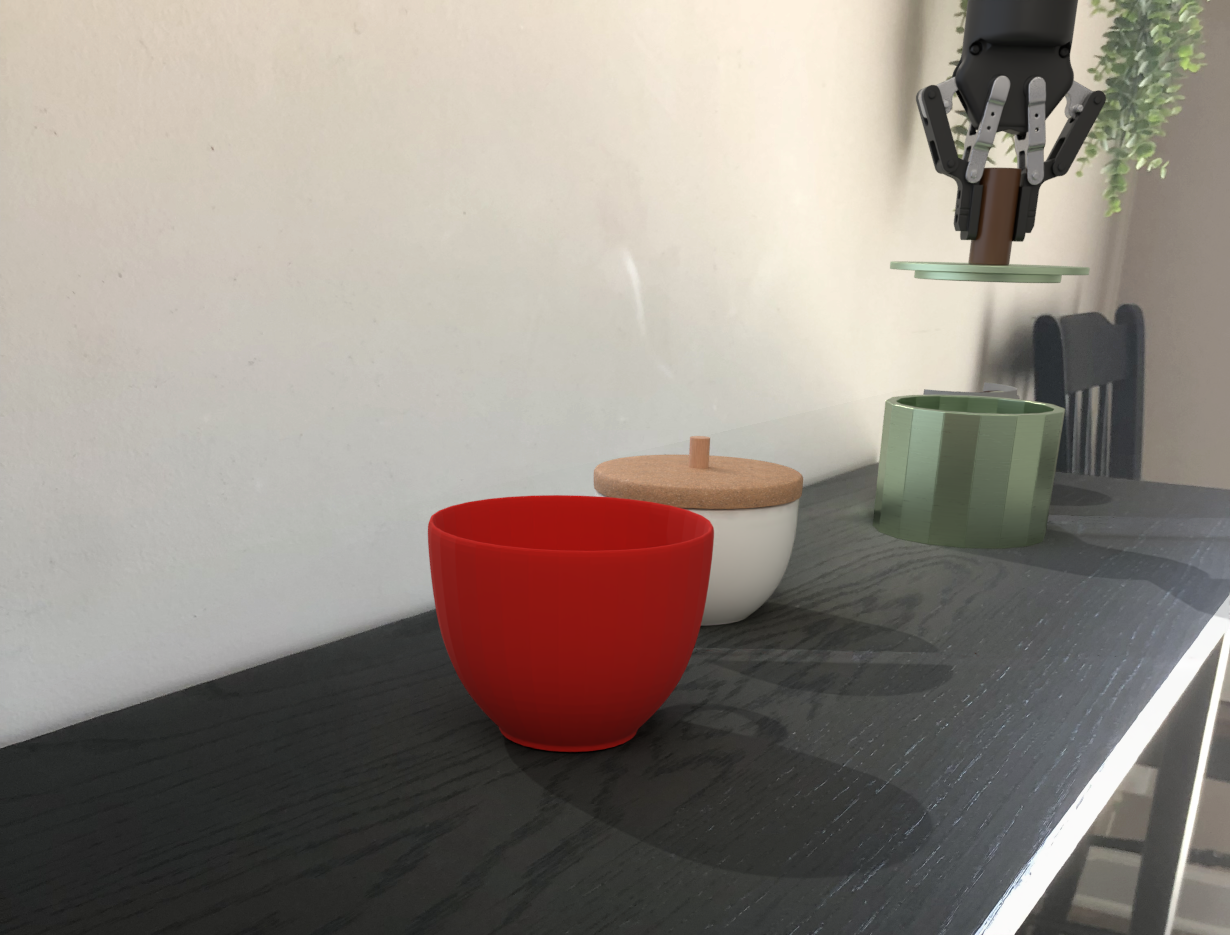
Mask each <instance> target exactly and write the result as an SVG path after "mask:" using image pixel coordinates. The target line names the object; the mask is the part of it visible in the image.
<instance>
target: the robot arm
mask: <svg viewBox="0 0 1230 935" xmlns="http://www.w3.org/2000/svg"><path fill="white" fill-rule="evenodd" d="M1078 3H1079V0H967V4H966V12H965V13H966V14H965V22H964V29H963V30H964V31H963V37H962V38H963V40H962V47H961V48H962V50H961V56H960V59H959V61H958V63H957V64H956V66H955V68H954V70H953V72H952V75H951V78H948V79H946V80H943V81H941V82H940V83H938V84H929V85H928V86H925V87H923V88H920V89H919V90H918V92H916V95H915V103H916V106H917V109H918V110H917V111H918V113H919V116H920V120H921V123H922V127H923V131H924V135H925V138H926V141H927V145H928V148H929V152H930V157H931V159H932V163H933V166H934V169H935V171H936V173H938V174H939V175H944V176H946V177H948V178H951V179H953V180H954V181H955V183H956V185H957V191H956V199H955V206H954V207H955V208H954V209H955V210H954V216H953V227H954V231H955V232H959V238H960V241H971V240H975V239H976V237H977V231H978V223H979V215H980V207H981V199H982V191H983V185H979V183H980V179H981V178H982V175H983V171H984V168H986V163H987V159H988V156H989V153H990V150H991V149H992V147H993V145H994V141H995V138H996V135H997V133H1001V132H1004V133H1007V134H1009V135H1013V136H1014V137H1013V138H1014V151H1015V153H1016V166H1017V167H1016V168H1019V169H1022V172H1021V180H1020V187H1019V195H1018V202H1017V210H1016V217H1015V225H1014V232H1013V240H1012V242H1013V243H1014V242H1015V243H1017V242H1018V243H1019V242H1020V243H1023V242H1024V241H1025V238H1026V234H1031V233H1032V231H1033V229H1034V228H1035V224H1036V216H1037V208H1038V202H1039V194H1040V189H1041V187H1042V185H1043V184H1044V183H1045V182H1046V181H1049V180H1051V179H1055V178H1057V177H1063V176H1065V175H1066V174H1067V173H1068V172H1069V170H1070V168H1071V167H1072V165H1073V163H1074V161H1075V160H1076V158H1077V155H1078V154H1079V153H1080V151H1081V148H1082V146H1083V145H1084V143H1085V140H1086V139H1087V137H1088V135H1089V134H1090V131H1091V130H1092V129H1093V126H1094V124H1095V123H1096V120H1097V119H1098V117H1099V115H1100V113H1101V111H1102V110H1103V107H1104V106H1105V104H1106V101H1107V96H1106V94H1105V92H1104V91H1103V90H1092V89H1090V88H1088V87H1086V86H1084V85H1083V84H1081V83H1080V82H1077V81H1076V80H1075V72H1074V69H1073V66H1072V62H1071V51H1072V47H1073V46H1072V45H1073V40H1074V33H1075V32H1074V31H1075V26H1076V17H1077V10H1078ZM955 94H956V96H957V98H958V100H959V102H960V104H961V106H962V108H963V110H964V112H965V114H966V115H967V117H968V119H969V125H968V130H967V133H966V135H965V139H964V144H963V153H962V156H961V158H960V157H959V154H958V151H957V147H956V144H955V140H954V136H953V133H952V132H953V131H952V129H951V125H950V121H949V118H948V114H949V113H950V112H951V111H952V109H953V106H954V105H953V104H954V103H953V97H954V95H955ZM1064 98H1065V100H1066V104H1065V108H1064V116H1065V117H1066V118H1067V120H1066V122H1065V123H1064V126H1063V128H1062V130H1061V132H1060V133H1059V136H1058V137H1057V138H1056V141H1055V143H1054V144H1053V146H1052V148H1051V150H1050V152H1049V154H1048V155H1047V157H1046V159H1045V147H1046V142H1047V137H1046V136H1047V133H1046V132H1047V131H1046V130H1047V128H1046V121H1047V119H1048V118H1049V117H1050V115H1051V114H1052V113H1053V112H1054V110H1055V109H1056V108H1057V106H1058V105H1059V104H1060V103H1061V101H1062V100H1063V99H1064Z"/></svg>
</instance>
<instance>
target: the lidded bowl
mask: <svg viewBox="0 0 1230 935" xmlns="http://www.w3.org/2000/svg"><path fill="white" fill-rule="evenodd" d="M688 449H689V451H688V454H648V455H647V454H645V455H633V456H625V457H619V458H618V457H617V458H614V459H610V460H606V461H603V462H600V463H599V464H597V466H596V467H594V469H593V489H594V490H595V496H597V497H612V498H623V499H632V500H640V501H647V502H654V503H659V504H664V505H670V506H674V507H678V508H682V509H685V510H689V511H692V512H694V513H697V514H699V515H702V516H703V517H705V518H706V519H708V520H709V521H710V522H711V524H712V526H713V527H714V543H713V554H712V563H711V571H710V578H709V585H708V591H707V597H706V603H705V608H704V614H703V618H702V622H701V626H720V625H727V624H733V623H736V622H741V621H743V620H745V619H747V618H749V616H751V615H752V614H753V613H755V612H756V611H757V610H759V608H761V606H763V605H764V604H765V603H766V602H767V601H768V600H769V599H770V598H771V597H772V595H773V594H774V592H775V591H776V590H777V588H778V587H779V585H780V584H781V582H782V580H783V578H784V576H785V574H786V571H787V570H788V566H789V562H790V560H791V557H792V553H793V550H794V544H795V540H796V535H797V528H798V527H797V526H798V518H799V510H800V509H799V508H800V499H801V497H802V495H803V488H804V477H803V474H802V473H801V472H799V471H798V470H796V469H795V468H792V467H790V466H786V465H783V464H779V463H775V462H770V461H765V460H758V459H753V458H746V457H745V458H743V457H735V456H725V455H724V456H722V455H711V454H710V449H711V437H710V436H706V435H694V436H693V435H691V436H690V437H689V448H688Z"/></svg>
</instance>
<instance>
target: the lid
mask: <svg viewBox="0 0 1230 935" xmlns="http://www.w3.org/2000/svg"><path fill="white" fill-rule="evenodd" d="M1021 172H1022V169H1019V168H1017V167H984V171H983V175H982V178H981V179H980V183H979V185H983V191H982V199H981V207H980V215H979V223H978V231H977V237H976V239H975V240H970V244H969V245H970V246H969V254H968V262H953V261H952V262H949V261H908V260H907V261H899V260H896V261H895V260H894V261H893V260H892V261H890V262H889V269H890V270H896V271H897V270H898V271H914V275H913V278H914V279H917V280H918V279H919V280H932V281H933V280H935V281H954V282H956V281H957V282H975V283H976V282H978V283H1010V284H1011V283H1012V284H1060V283H1061V282H1062V277H1063V276H1090V270H1091V268H1090V267H1087V266H1073V265H1071V266H1070V265H1050V264H1049V265H1048V264H1047V265H1045V264H1021V263H1010V261H1011V253H1012V248H1013V247H1012V246H1013V241H1012V240H1013V232H1014V225H1015V217H1016V210H1017V202H1018V195H1019V187H1020V180H1021Z"/></svg>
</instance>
